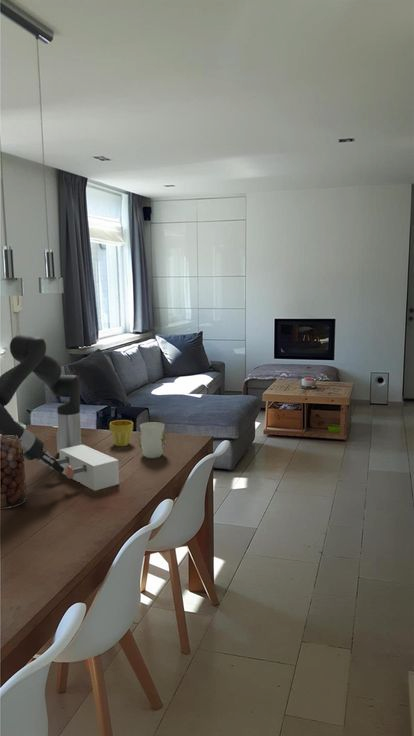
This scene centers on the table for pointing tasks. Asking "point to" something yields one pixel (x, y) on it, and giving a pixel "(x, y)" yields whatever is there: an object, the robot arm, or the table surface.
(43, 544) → the table surface
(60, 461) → the blue key
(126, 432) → the plant pot
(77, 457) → the key box
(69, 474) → the red key
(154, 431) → the pitcher
